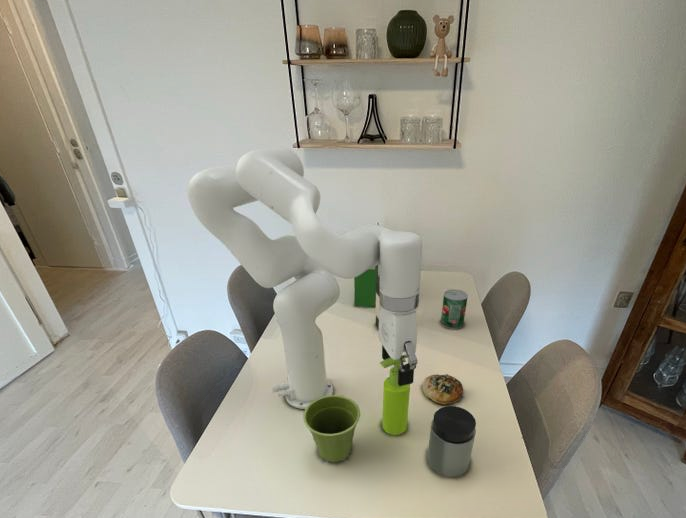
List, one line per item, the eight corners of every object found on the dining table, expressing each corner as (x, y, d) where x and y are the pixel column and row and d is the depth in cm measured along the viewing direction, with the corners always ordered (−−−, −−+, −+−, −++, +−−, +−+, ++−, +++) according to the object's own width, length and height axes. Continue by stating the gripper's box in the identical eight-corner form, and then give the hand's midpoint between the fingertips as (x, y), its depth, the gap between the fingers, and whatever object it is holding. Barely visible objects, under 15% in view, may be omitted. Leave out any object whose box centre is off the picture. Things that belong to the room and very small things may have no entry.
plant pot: (297, 450, 86) (291, 413, 79) (337, 423, 93) (335, 387, 86) (331, 482, 79) (328, 444, 72) (372, 450, 86) (372, 413, 79)
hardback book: (360, 286, 158) (359, 228, 145) (378, 287, 158) (378, 229, 144) (354, 306, 143) (353, 243, 130) (374, 307, 143) (375, 244, 130)
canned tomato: (468, 326, 131) (472, 297, 125) (448, 330, 129) (452, 301, 123) (455, 315, 137) (459, 287, 131) (436, 320, 135) (439, 291, 129)
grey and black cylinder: (438, 481, 79) (444, 441, 72) (420, 449, 86) (424, 410, 79) (476, 471, 81) (486, 430, 74) (456, 440, 88) (463, 401, 81)
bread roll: (468, 385, 104) (470, 372, 101) (454, 414, 97) (455, 401, 94) (430, 374, 109) (430, 361, 106) (414, 400, 102) (413, 387, 99)
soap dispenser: (374, 422, 93) (375, 355, 82) (399, 414, 95) (403, 348, 84) (385, 439, 88) (387, 370, 77) (411, 430, 91) (417, 362, 80)
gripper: (367, 283, 79) (368, 352, 88) (397, 323, 65) (394, 399, 74) (400, 279, 81) (398, 346, 90) (437, 316, 67) (430, 391, 76)
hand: (396, 370), depth 82 cm, fingers open, 9 cm apart
